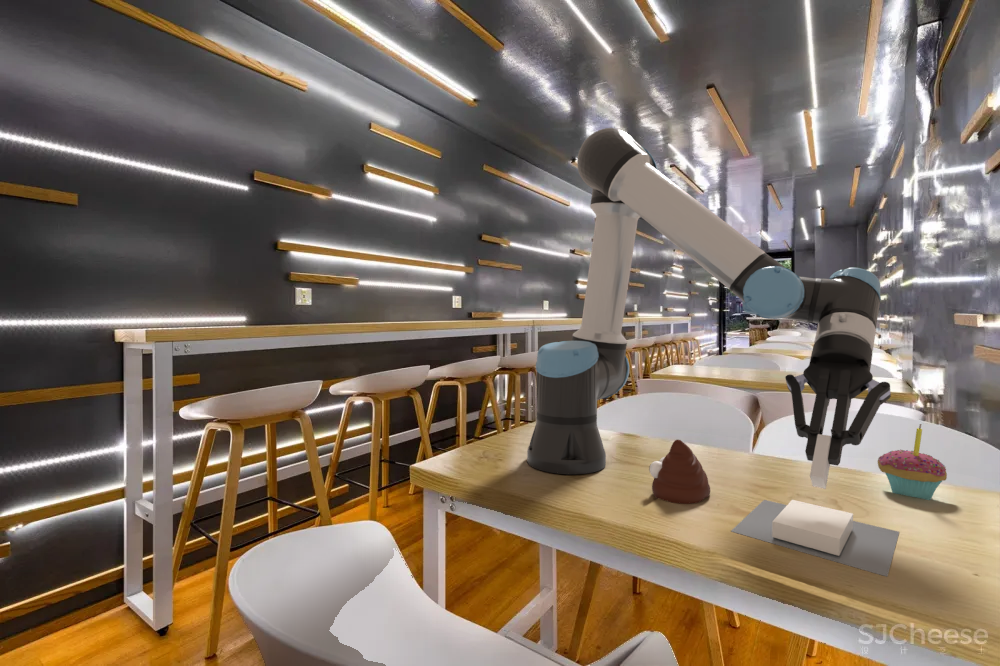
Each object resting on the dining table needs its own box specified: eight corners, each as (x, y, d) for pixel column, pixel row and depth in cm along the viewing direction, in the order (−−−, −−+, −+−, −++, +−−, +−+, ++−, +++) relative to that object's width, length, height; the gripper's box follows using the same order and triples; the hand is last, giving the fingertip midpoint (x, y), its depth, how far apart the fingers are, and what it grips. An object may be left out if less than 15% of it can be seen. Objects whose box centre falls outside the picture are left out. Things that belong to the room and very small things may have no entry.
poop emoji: (693, 513, 71) (694, 449, 70) (639, 498, 77) (640, 439, 76) (719, 495, 78) (720, 437, 77) (667, 482, 84) (668, 428, 83)
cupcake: (960, 508, 73) (963, 428, 72) (895, 503, 74) (898, 425, 74) (923, 488, 81) (925, 416, 81) (865, 484, 83) (867, 414, 82)
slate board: (730, 535, 63) (730, 531, 63) (764, 503, 74) (764, 499, 74) (887, 581, 52) (887, 576, 52) (899, 536, 63) (899, 531, 63)
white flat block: (791, 515, 68) (772, 538, 61) (792, 499, 68) (772, 521, 61) (852, 530, 64) (839, 557, 56) (853, 513, 64) (839, 538, 56)
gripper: (790, 330, 77) (757, 456, 66) (895, 332, 68) (879, 478, 57) (797, 361, 81) (767, 485, 70) (897, 367, 72) (882, 510, 61)
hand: (817, 481), depth 63 cm, fingers closed
